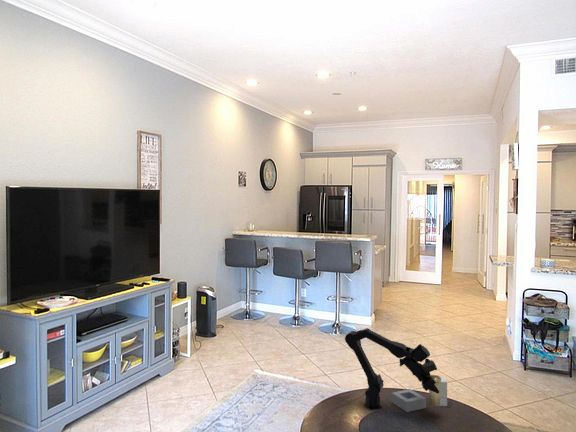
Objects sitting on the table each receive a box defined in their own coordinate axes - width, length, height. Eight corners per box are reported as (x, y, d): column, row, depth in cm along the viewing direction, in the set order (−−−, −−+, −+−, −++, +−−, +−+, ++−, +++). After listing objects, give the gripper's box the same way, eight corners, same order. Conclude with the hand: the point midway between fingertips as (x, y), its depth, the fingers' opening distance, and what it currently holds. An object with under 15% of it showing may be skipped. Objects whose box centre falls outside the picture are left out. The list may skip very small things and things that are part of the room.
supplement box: (443, 400, 216) (443, 376, 216) (447, 406, 208) (447, 381, 208) (429, 399, 216) (429, 375, 217) (432, 405, 209) (432, 381, 209)
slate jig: (406, 412, 202) (406, 402, 202) (391, 402, 213) (391, 392, 213) (425, 408, 207) (425, 398, 207) (409, 398, 218) (409, 389, 218)
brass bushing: (434, 407, 195) (434, 380, 195) (425, 402, 200) (425, 375, 200) (443, 405, 197) (443, 378, 197) (434, 400, 202) (434, 374, 203)
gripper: (430, 362, 190) (455, 387, 189) (422, 349, 208) (444, 372, 207) (413, 378, 191) (437, 403, 189) (406, 364, 209) (428, 386, 208)
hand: (437, 390), depth 198 cm, fingers closed on brass bushing, 5 cm apart
